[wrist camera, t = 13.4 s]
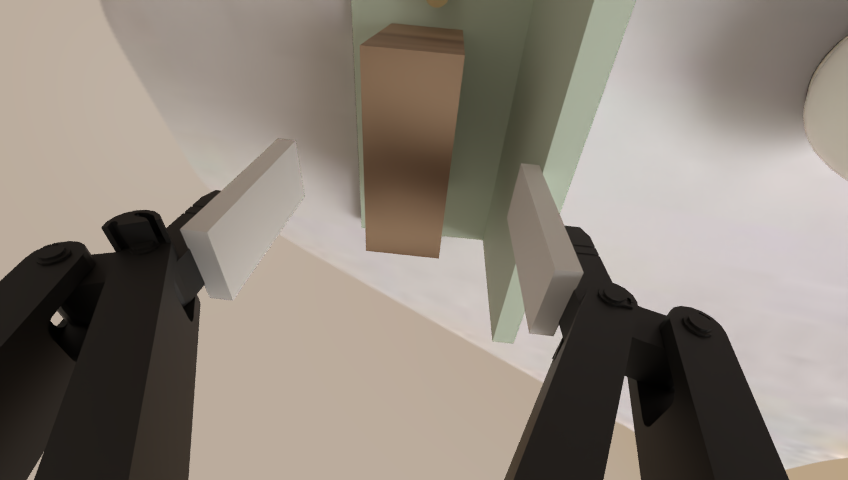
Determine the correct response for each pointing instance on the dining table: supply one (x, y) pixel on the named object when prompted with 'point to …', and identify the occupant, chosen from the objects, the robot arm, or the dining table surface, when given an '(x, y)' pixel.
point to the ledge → (509, 110)
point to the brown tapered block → (408, 134)
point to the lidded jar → (829, 110)
